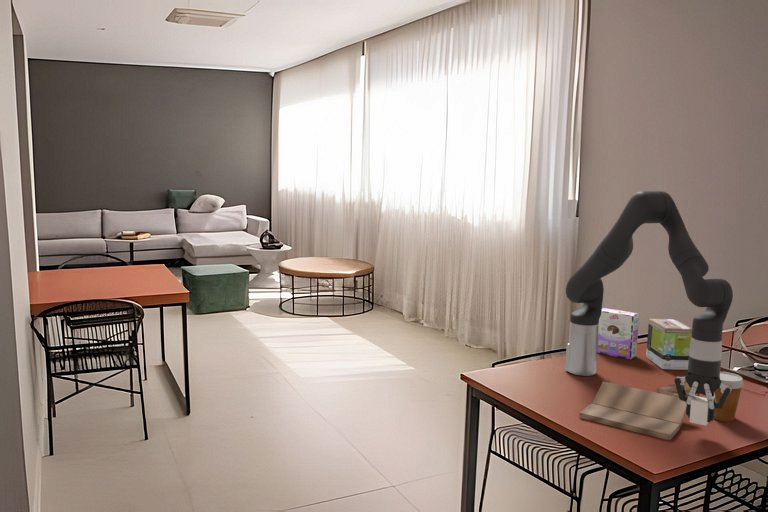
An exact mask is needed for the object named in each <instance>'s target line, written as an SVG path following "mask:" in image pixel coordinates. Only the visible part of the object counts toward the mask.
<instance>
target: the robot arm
mask: <svg viewBox="0 0 768 512" xmlns="http://www.w3.org/2000/svg"><path fill="white" fill-rule="evenodd" d="M684 222H685V221H683V218H682V216H681V213H680V211H679V209H678V207H677V205H676V203H675V200H674V199H673V197H672V196H671V195H670V194H669V193H668V192H666V191H662V190H640V191H637V192H635V193H634V194H633V195H632V196H631V197H630V198H629V200H628V202H627V203H626V205H625V207H624V209H623V210H622V211H621V213H620V215H619V217H618V219H617V220H616V222H615V223H614V224H613V226H612V228H611V229H610V230H609V232H608V233H607V235H606V236H604V238H603V239H602V240H601V242H599V244H598V245H597V247H596V249H595V250H594V251H593V252H592V254H591V255H590V256H589V257H588V259H587V260H586V261H585V262H584V264H582V266H581V267H580V268H578V270H576V271H575V273H574V274H572V276H571V277H570V278H569V279H568V281H567V284H566V286H565V296H566V298H567V299H568V300H569V301H570V302H572V303H575V304H582V306H581V307H580V308H578V309H576V310H574V311H572V312H571V314H570V317H569V318H570V319H569V337H568V339H569V340H568V343H566V349H565V350H566V351H565V369H564V370H565V372H569V373H570V374H572V375H577V376H584V377H586V376H587V377H590V376H594V375H596V373H597V361H598V359H597V358H598V353H597V345H598V328H599V318H600V316H601V311H602V308H603V301H604V294H605V293H604V292H605V291H604V283H603V282H604V281H603V280H602V278H604V277H607V275H610V274H611V273H613V272H615V271H617V270H618V269H619V268H621V267H622V266H623V265H624V263H625V262H626V261H627V260H628V259H629V258H630V256H631V255H632V252H633V250H634V239H633V235H634V234H635V233H636V231H637V230H638V228H640V227H641V226H643V225H645V224H660V225H661V226H662V228H664V229H665V231H666V232H667V235H668V246H667V247H668V255H669V259H670V260H671V261H672V263H673V265H674V266H675V268H676V269H677V271H678V273H679V275H680V276H681V279H682V283H683V286H684V290H685V294H686V297H687V298H688V300H689V302H691V304H692V305H694V306H695V307H698V308H705V310H704V312H702V313H700V314H698V315H696V316H694V317H693V318H692V319H693V320H692V324H691V326H692V327H691V328H692V336H691V342H690V348H689V361H688V370H687V373H686V375H685V376H680V375H677V377H675V378H674V380H673V381H674V384H675V385H676V388H677V392H678V395H679V399H680V400H682V401H685V402H686V404H687V406H686V414H685V416H688V417H687V418H688V419H690V409H691V400H692V399H693V398H694V397H695V396H696V394H699V395H703V396H706V397H705V398H707V400H708V402H709V409H708V419H707V422H709V423H711V422H713V421H714V420H715V419H714V418H715V409H716V408H719V409H721V408H722V407H723V405H724V404H725V402H726V400H727V398H728V396H729V394H730V392H731V390H732V387H731V386H726V385H724V384H722V382H721V380H720V371H721V366H722V365H721V364H722V357H723V344H722V343H723V342H722V341H723V330H724V328H723V327H724V323H725V320H726V318H727V316H728V313H729V311H730V308H731V305H732V302H733V298H734V291H733V288H732V286H731V284H730V283H729V282H728V280H726V279H723V278H709V279H708V278H704V277H705V276H706V275H707V274H708V272H709V270H710V267H709V263H708V262H707V261H706V258H704V256H703V255H702V253H701V251H699V249H698V247H697V246H696V245H695V242H694V241H693V240H692V238H691V236H690V234H689V232H688V230H687V228H686V225H685V223H684ZM686 382H687V383H688V385H689V386H690V388H691V390H690V393H689V396H687V395H686V392H685V389H684V384H685V383H686ZM719 387H720V388H721V393H722V394H723V395H722V397H721V398H720V400H719V402H716V401H715V393H714V392H715V391H716V390H717V389H718V388H719ZM709 423H708V424H709Z"/></svg>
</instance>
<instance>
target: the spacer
mask: <svg viewBox="0 0 768 512" xmlns="http://www.w3.org/2000/svg"><path fill="white" fill-rule="evenodd" d="M708 409H709V402H708V400H707V397H703V396H699V395H697V396H695V397H694V398H693V399H692V400H691V409H690V418H689V423H692V424H697V425H700V426H701V425H702V426H708V425H709V422H707V419H708Z"/></svg>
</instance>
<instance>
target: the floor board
mask: <svg viewBox="0 0 768 512" xmlns="http://www.w3.org/2000/svg"><path fill="white" fill-rule="evenodd" d="M579 419H583V420H587V421H591V422H594V423H598V424H602V425H606V426H610V427H614V428H618V429H622V430H626V431H631V432H634V433H638V434H642V435H646V436H651V437H654V438H659V439H662V440H666V441H671V440H672V439H673V438H674V436H675V435H676V434H677V433H678V432H679V430H681V428H680V427H679V426H680V424H677V423H673V422H669V421H664V420H660V419H656V418H652V417H647V416H643V415H639V414H635V413H630V412H626V411H622V410H618V409H613V408H609V407H605V406H601V405H596V404H593V403H590V404H589V405H588V406H586V407H585V408H583V410H581V411H580V412H579Z"/></svg>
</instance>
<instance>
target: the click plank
mask: <svg viewBox="0 0 768 512" xmlns="http://www.w3.org/2000/svg"><path fill="white" fill-rule="evenodd" d="M592 404H596V405H601V406H605V407H609V408H613V409H618V410H622V411H626V412H630V413H635V414H639V415H643V416H647V417H652V418H656V419H660V420H664V421H669V422H673V423H677V424H680V426H679V427H680V429H681V428H682V425H683V423H684V420H685V417H686V406H687V404H686V402H685V401H682V400H680V399H679V397H675V396H670V395H665V394H660V393H657V392H655V391H650V390H646V389H642V388H641V389H640V388H637V387H632V386H628V385H627V386H626V385H621V384H617V383H612V382H607V381H602V382H601V385H600V387H599V388H598V391H597V393H596V395H595V397H594V399H593V401H592Z"/></svg>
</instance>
